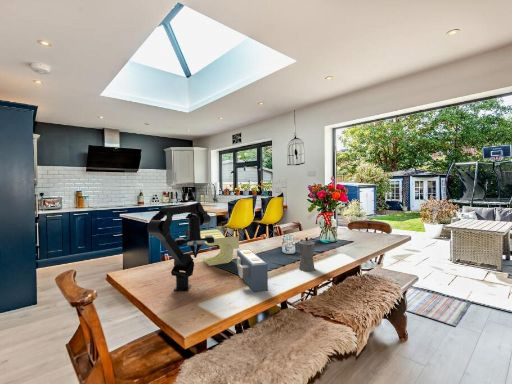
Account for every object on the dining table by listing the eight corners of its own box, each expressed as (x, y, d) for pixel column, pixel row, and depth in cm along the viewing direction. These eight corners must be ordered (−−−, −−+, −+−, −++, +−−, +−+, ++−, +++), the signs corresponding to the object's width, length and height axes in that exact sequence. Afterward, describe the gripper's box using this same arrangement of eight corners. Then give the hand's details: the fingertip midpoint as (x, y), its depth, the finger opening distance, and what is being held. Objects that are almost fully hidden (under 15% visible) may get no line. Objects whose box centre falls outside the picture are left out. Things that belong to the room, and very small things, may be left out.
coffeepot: (319, 271, 147) (319, 239, 146) (303, 273, 145) (303, 240, 144) (308, 263, 162) (308, 234, 161) (293, 265, 160) (293, 235, 159)
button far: (239, 269, 138) (239, 259, 138) (237, 266, 143) (236, 256, 143) (251, 267, 140) (251, 257, 140) (248, 264, 145) (248, 255, 145)
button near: (241, 278, 124) (241, 267, 124) (238, 274, 129) (238, 264, 129) (254, 276, 126) (254, 265, 126) (251, 273, 131) (251, 262, 131)
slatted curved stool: (239, 265, 161) (238, 235, 161) (214, 269, 154) (213, 238, 153) (221, 254, 188) (220, 228, 187) (198, 257, 180) (198, 231, 180)
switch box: (253, 292, 120) (252, 264, 120) (237, 271, 149) (237, 249, 148) (267, 290, 122) (267, 262, 122) (249, 270, 151) (249, 248, 151)
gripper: (210, 223, 145) (211, 252, 145) (174, 225, 139) (175, 255, 140) (214, 226, 134) (214, 257, 135) (175, 229, 128) (176, 261, 129)
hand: (195, 257), depth 135 cm, fingers closed
